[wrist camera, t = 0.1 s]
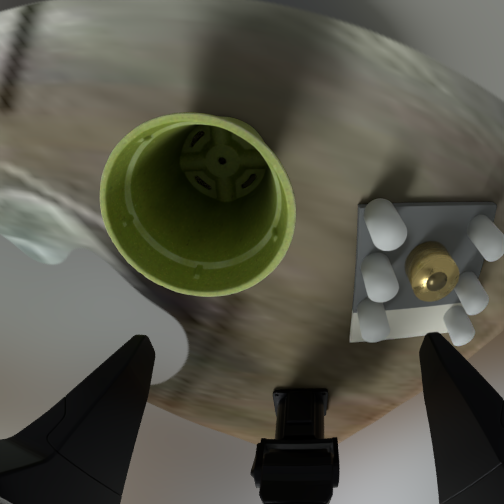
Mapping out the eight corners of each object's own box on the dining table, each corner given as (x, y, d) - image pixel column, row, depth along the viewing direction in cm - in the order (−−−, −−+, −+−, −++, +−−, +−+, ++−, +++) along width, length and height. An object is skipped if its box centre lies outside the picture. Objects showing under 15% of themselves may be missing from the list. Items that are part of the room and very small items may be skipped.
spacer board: (457, 326, 28) (468, 352, 25) (349, 338, 30) (353, 367, 27) (494, 194, 20) (517, 215, 17) (357, 195, 22) (368, 219, 19)
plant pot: (323, 153, 20) (341, 210, 13) (237, 242, 25) (214, 323, 18) (211, 65, 18) (162, 69, 11) (138, 170, 22) (75, 227, 15)
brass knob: (442, 279, 24) (452, 299, 22) (401, 283, 25) (409, 304, 22) (451, 239, 22) (464, 258, 20) (407, 242, 23) (417, 261, 20)
